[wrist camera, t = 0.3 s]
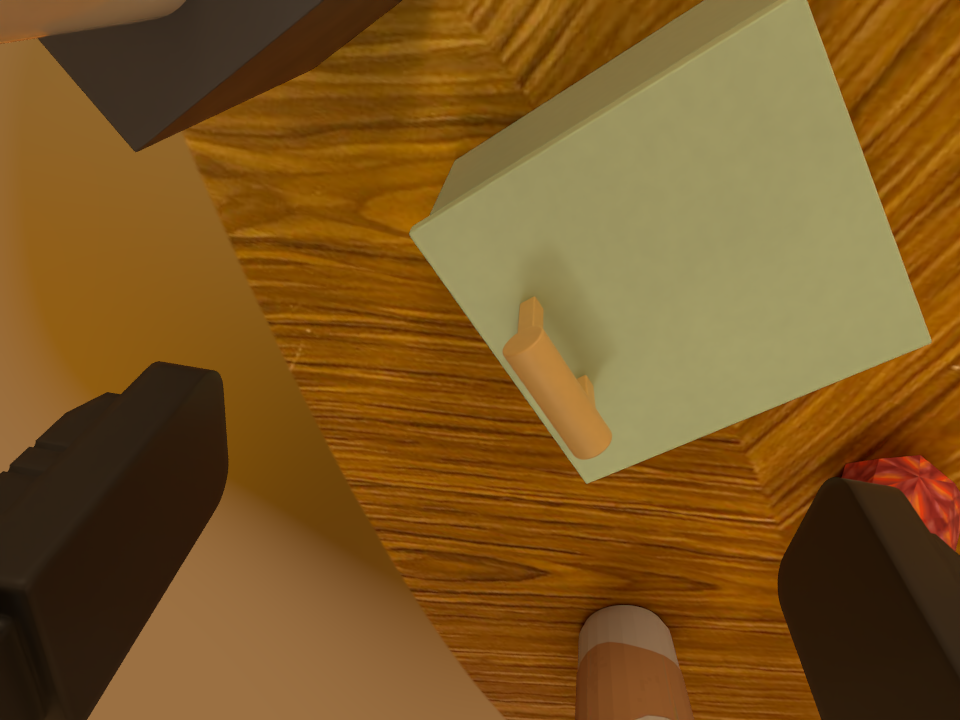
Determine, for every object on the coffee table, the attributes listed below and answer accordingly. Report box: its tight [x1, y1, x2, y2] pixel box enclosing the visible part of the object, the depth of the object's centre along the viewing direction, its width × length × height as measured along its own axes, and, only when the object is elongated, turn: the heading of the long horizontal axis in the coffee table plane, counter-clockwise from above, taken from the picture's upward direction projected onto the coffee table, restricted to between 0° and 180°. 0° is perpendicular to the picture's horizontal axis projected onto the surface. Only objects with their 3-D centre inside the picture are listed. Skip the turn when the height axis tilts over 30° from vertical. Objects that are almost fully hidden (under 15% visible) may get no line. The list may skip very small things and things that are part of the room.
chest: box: [430, 0, 778, 215], centre depth 28 cm, size 14×14×8 cm
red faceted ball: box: [842, 455, 960, 551], centre depth 36 cm, size 6×7×8 cm
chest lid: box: [409, 0, 932, 484], centre depth 23 cm, size 14×14×5 cm
